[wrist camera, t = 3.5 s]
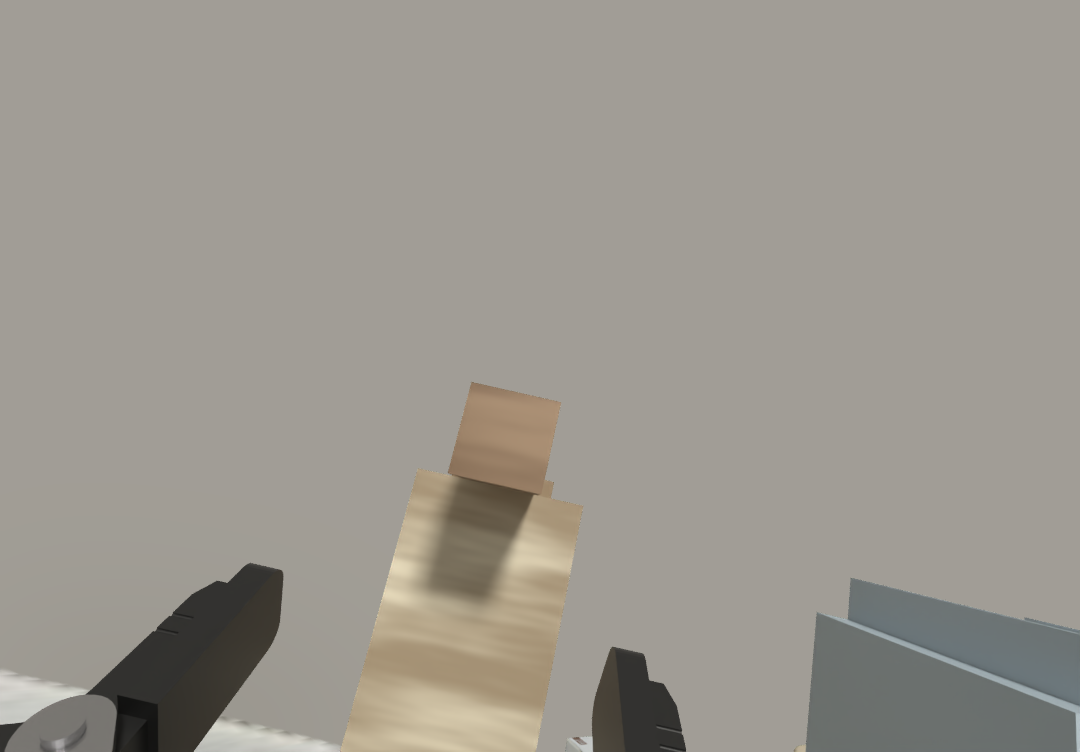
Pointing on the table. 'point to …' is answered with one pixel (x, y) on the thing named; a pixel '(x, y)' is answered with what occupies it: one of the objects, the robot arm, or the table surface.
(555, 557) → the birch stand
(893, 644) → the slate pedestal
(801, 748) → the travel mug
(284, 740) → the table surface
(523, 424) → the walnut rail
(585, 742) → the skincare box
